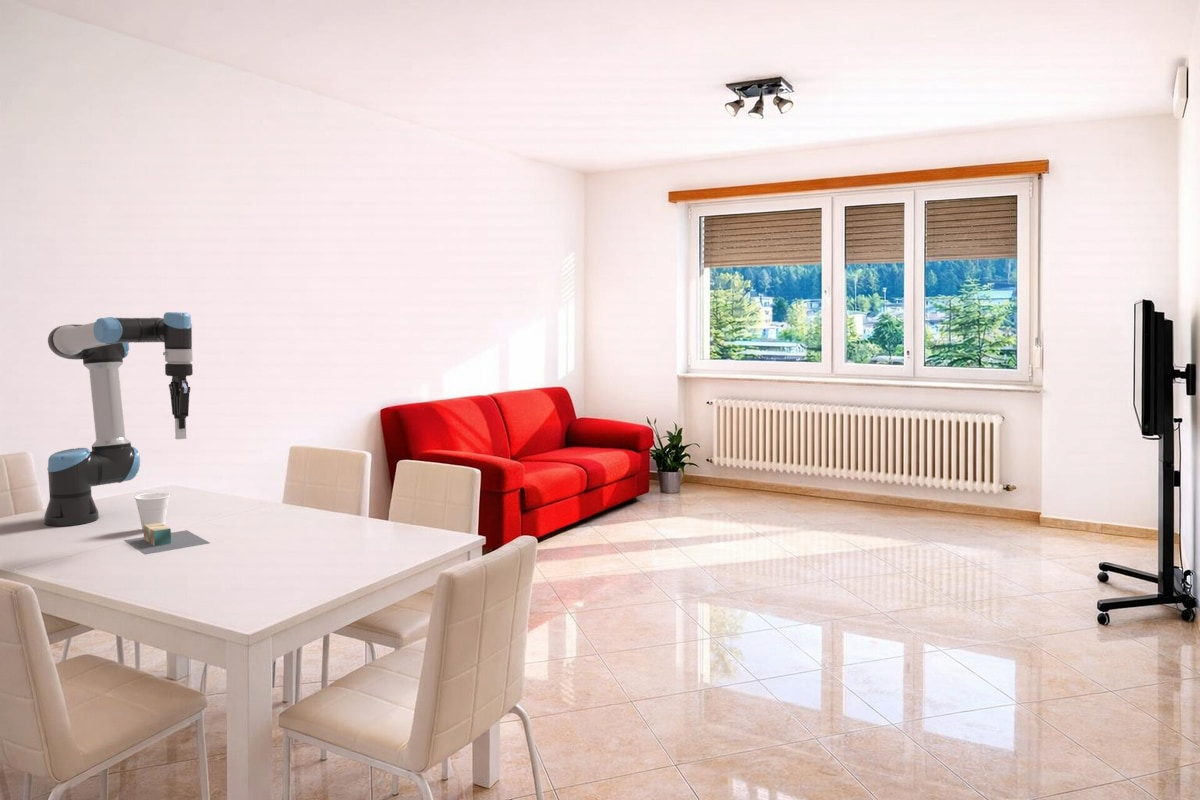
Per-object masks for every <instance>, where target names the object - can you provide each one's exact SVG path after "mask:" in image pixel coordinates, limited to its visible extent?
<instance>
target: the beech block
mask: <svg viewBox="0 0 1200 800" xmlns="http://www.w3.org/2000/svg"><path fill="white" fill-rule="evenodd" d="M143 528H144V530H143V537H144V540H146V541H147V542H149V543H151V544H152V545H154V546H158V545H164V544H170V543H171V533H172V529H171V527H168V526H167V525H166V524H165V525H163V524H161V523H160V522H158V523H152V524H145V525H143Z"/></svg>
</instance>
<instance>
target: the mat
mask: <svg viewBox="0 0 1200 800" xmlns="http://www.w3.org/2000/svg"><path fill="white" fill-rule="evenodd" d="M123 541H124V542H125V543H127V544H129V545H130V546H132V547H133V548H135V549H136V550H138V551H139V552H140V553H142V554H144V555H151V554H156V553H157V554H158V553H162V552H163V553H164V552H168V551H173V550H178V549H185V548H190V547H196V546H202V545H208V544H209V545H210V544H211V542H209V541H208V540H206V539H204V538H202V537H200V536H199V535H197V534H195V533H193V532H192V531H189V530H188V529H185V530H179V531H173V532H172V531H171V543H170V544H164V545H158V546H154V545H152V544H151V543H149V542H147V541H146V540H144V536H142V537H136V538H129V539H124V540H123Z"/></svg>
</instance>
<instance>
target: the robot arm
mask: <svg viewBox="0 0 1200 800" xmlns="http://www.w3.org/2000/svg"><path fill="white" fill-rule="evenodd" d="M191 317H192V316H191V314H190V313H188V312H165V313H164V314H163V317H113V316H111V317H110V316H109V317H100V318H97V319H96V320H95V322H90V323H86V324H75V323H74V324H65V325H59V326H56V327H55V328H54V329H52V330H51V331H50V332H49V334H48V335H47V336H48V337H47V345H48V347H49V349H50V350H51V352H53V353H54V354H55V355H56V356H58V357H60V358H63V359H67V360H82V363H83V366H84V367H86V369H87V370H88V371H89V381H90V391H91V402H92V410H93V422H94V431H95V433H94V434H95V442H94V443H93V444H92V445H91V451H90V449H89V448H87V447H77V448H69V449H64V450H59V451H57V452H54V453H52V454H51V455H50V456H49V457H48V459H47V475H48V489H49V490H48V491H49V501H48V504H47V507H46V510H45V512H44V517H43V520H44V522H43V523H44V525H47V526H53V527H68V526H76V525H77V526H78V525H83V524H87V523H92V522H95V521H97V520H99V511H98V508H97V505H96V503H95V501H94V499H93V496H92V487H97V486H102V485H103V486H104V485H111V484H116V483H119V484H120V483H124V482H129V481H132V480H133V479H135V478H136V476H137V474H138V472H139V471H140V466H141V457H140V453H139V451H138V448H136V447H134V446H132V441H130V440H129V439H128V438H127V437H126V433H125V432H126V431H125V422H124V413H123V411H124V410H123V403H122V402H123V401H122V391H121V382H120V381H121V380H120V371H119V369H120V367H121V366H122V365H123V363H124V360H123V359H125V358H127V357H128V355H129V350H130V343H135V344H136V343H164V351H163V352H162V355H163V356H164V361H165V362H166V363H165V364H164V374H165V376H168V377H171V381H170V383H169V384H168V389H169V395H170V402H171V414H172V415H173V419H174V432H175V435H174V438H175V440H185V439H187V420H186V419H187V418H188V417H189V407H190V406H189V405H190V394H191V386H189V382H188V380H187V377H190V376H193V363H192V362H193V349H192V348H193V346H192V345H193V341H192V340H193V337H192V334H193V333H192V328H193V324H192V318H191Z"/></svg>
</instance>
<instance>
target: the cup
mask: <svg viewBox="0 0 1200 800" xmlns="http://www.w3.org/2000/svg"><path fill="white" fill-rule="evenodd" d="M170 495H171V494H170V493H167V492H149V493H148V492H147V493H142V494H138V495H135V496H134V499H135V502H136V507H137V511H138V515H139V519H140V524H141V528H142V531H144V528H143V525H145V524H152V523H158V522H160V523H161V524H163V525H165V526H166V518H167V511H168V505H169V499H170Z"/></svg>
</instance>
